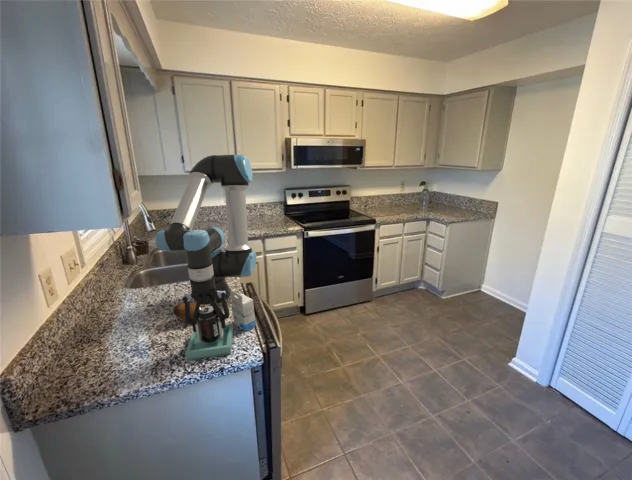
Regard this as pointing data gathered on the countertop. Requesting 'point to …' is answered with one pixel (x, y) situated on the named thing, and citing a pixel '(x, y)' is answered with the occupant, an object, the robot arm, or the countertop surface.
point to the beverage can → (208, 324)
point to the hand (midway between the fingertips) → (211, 337)
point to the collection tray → (210, 345)
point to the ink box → (243, 311)
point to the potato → (180, 310)
